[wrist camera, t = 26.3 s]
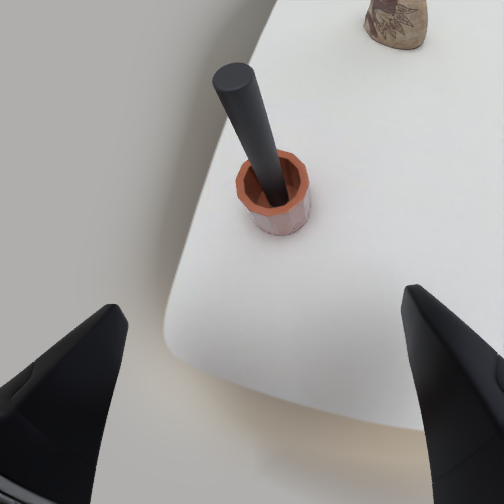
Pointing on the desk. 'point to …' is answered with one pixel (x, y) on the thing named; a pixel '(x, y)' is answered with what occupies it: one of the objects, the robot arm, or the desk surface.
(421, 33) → the figurine
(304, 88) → the desk surface
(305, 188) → the stylus holder
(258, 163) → the dark grey rod
